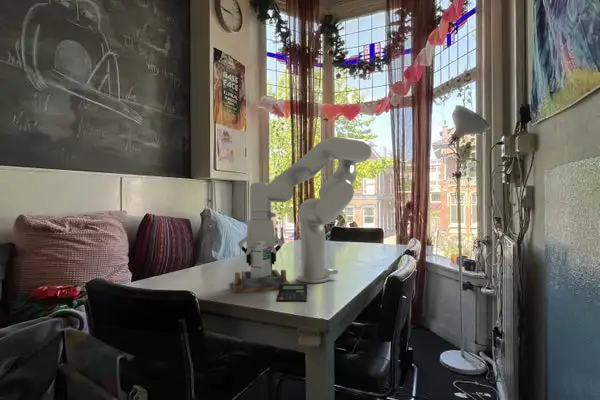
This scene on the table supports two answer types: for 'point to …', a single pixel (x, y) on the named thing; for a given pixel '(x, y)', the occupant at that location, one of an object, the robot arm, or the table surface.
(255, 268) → the syrup box
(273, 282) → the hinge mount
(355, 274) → the table surface
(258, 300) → the table surface
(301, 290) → the calculator
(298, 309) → the table surface
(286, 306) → the table surface
